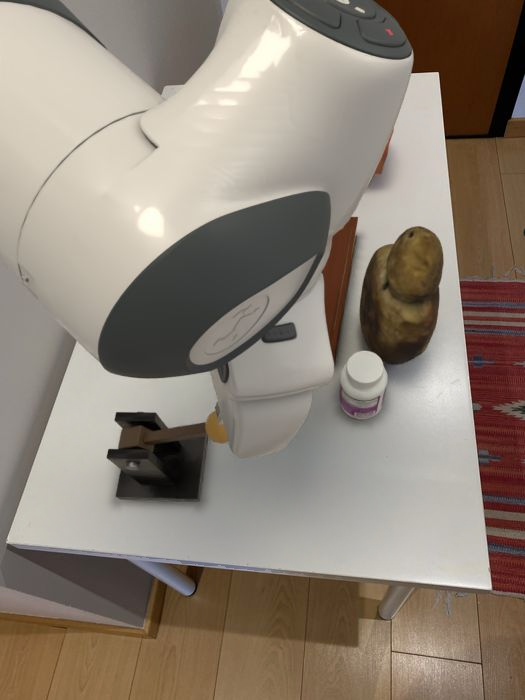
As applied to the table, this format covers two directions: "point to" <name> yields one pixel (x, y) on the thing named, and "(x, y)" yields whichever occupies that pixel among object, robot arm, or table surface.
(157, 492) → the black lever stand
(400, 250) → the brown lumpy potato
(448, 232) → the table surface
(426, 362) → the table surface
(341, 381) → the pill bottle
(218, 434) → the lever
